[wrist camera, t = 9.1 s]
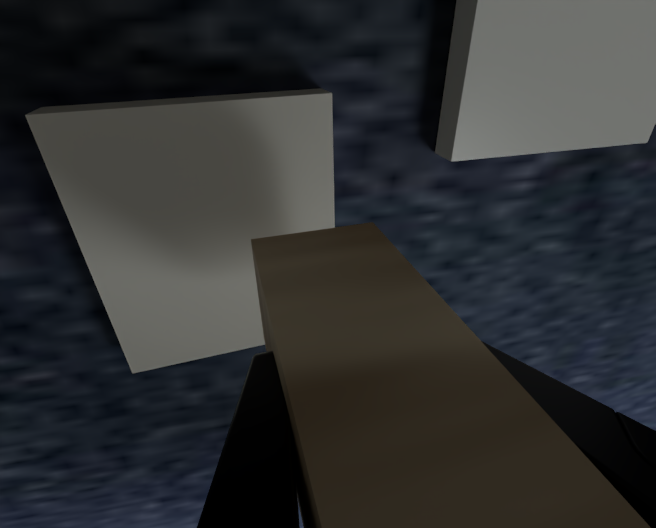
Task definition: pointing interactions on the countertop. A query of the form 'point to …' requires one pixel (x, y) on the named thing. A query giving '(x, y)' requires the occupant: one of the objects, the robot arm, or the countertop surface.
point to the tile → (187, 207)
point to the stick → (408, 401)
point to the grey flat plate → (548, 77)
